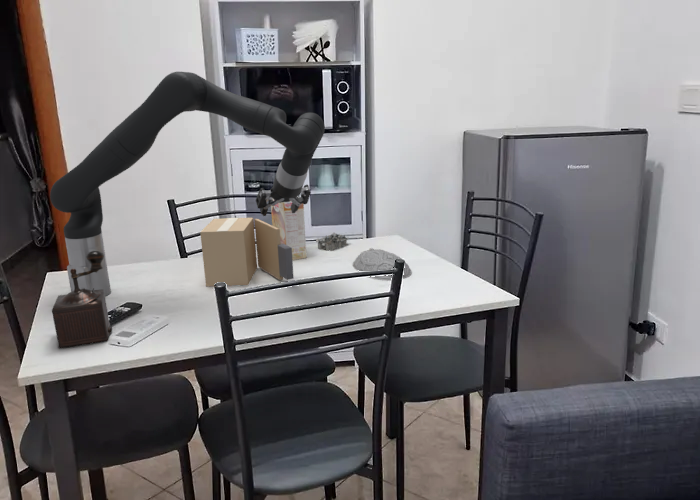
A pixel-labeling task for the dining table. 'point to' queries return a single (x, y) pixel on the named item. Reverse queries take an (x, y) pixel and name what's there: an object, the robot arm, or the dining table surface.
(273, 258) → the carton flap
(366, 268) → the grey oval domed piece
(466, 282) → the dining table surface
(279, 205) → the coffeecake box
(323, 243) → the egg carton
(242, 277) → the carton
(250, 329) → the dining table surface
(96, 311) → the manual coffee grinder
